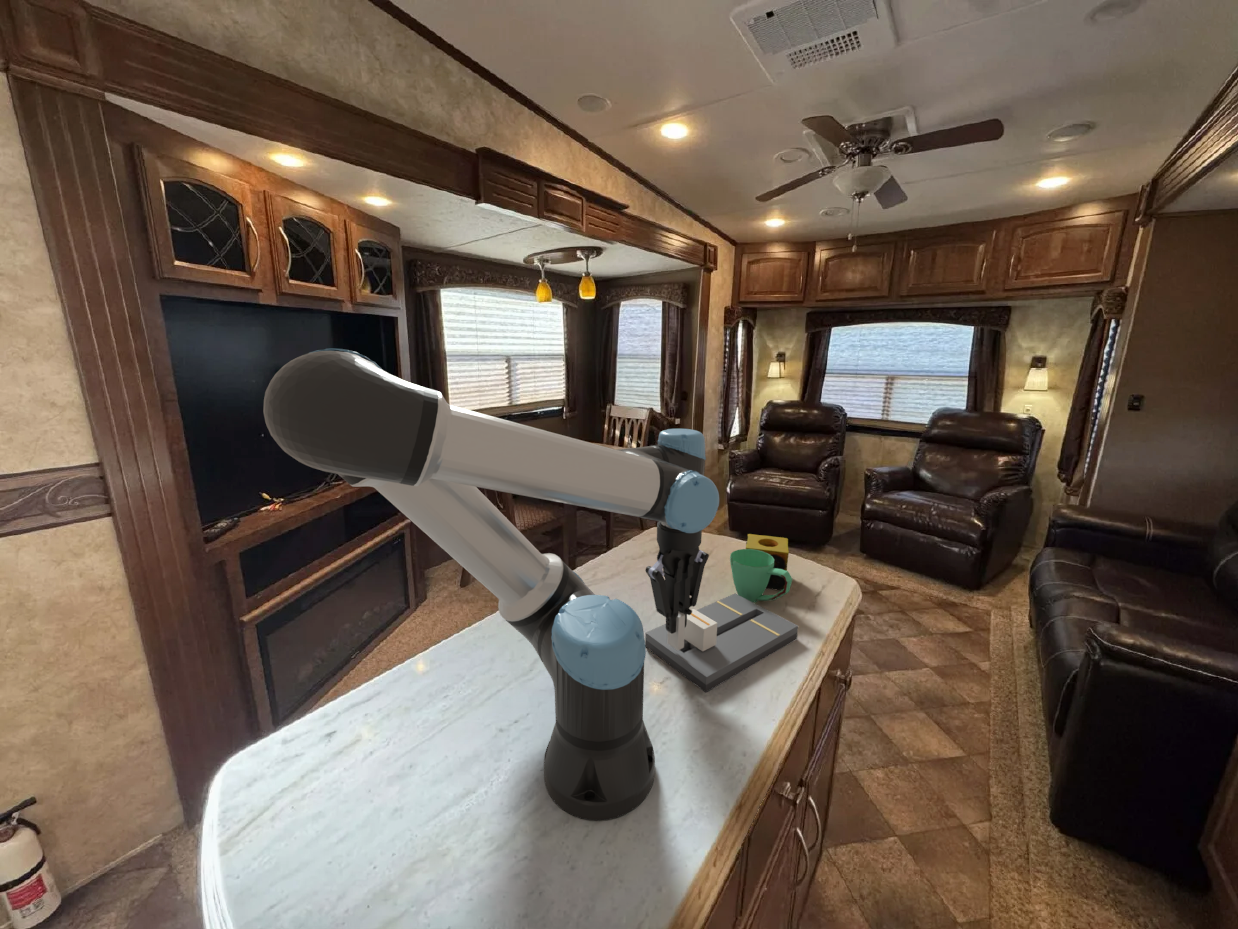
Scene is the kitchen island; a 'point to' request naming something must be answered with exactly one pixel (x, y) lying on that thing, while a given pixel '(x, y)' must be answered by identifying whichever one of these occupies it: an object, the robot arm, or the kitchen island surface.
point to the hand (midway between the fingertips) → (675, 645)
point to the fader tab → (700, 631)
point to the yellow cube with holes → (777, 550)
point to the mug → (756, 574)
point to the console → (726, 642)
